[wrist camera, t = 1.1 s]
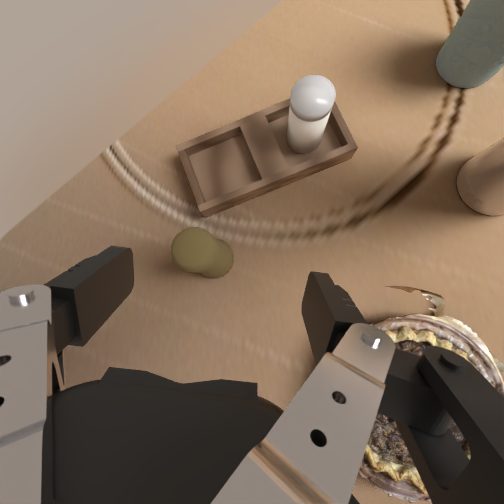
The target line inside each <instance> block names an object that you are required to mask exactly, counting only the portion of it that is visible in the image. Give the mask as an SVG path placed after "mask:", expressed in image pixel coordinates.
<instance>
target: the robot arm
mask: <svg viewBox="0 0 504 504" xmlns="http://www.w3.org/2000/svg"><path fill="white" fill-rule="evenodd" d="M457 188H458V192H459V194H460V197H461V198H462V199H463V201H464V202H465V203H466V204H467V205H468V206H469V207H470V208H472V209H473V210H475V211H477V212H479V213H482V214H485V215H491V216H498V215H504V138H503V139H501V140H499V141H498V142H496V143H495V144H493V145H491V146H490V147H488V148H487V149H485V150H484V151H482V152H481V153H479V154H477V155H476V156H474V157H473V158H471V159H470V160H468V161H467V162H466V163H465V164H464V165H463V166H462V167H461V169H460V171H459V173H458V176H457ZM133 285H134V269H133V253H132V250H131V249H130V248H125V247H117V246H110V247H109V248H107V249H106V250H104V251H103V252H101V253H99V254H98V255H96V256H93V257H90V258H87V259H84V260H83V261H81V262H79V263H78V264H76V265H75V266H73V267H71V268H70V269H68V271H65V272H63V273H62V274H60V275H59V276H57V277H56V278H54V279H52V280H51V281H49V282H48V283H46V284H44V285H38V284H32V285H23V286H17V287H13V288H10V289H7V290H5V291H2V292H0V504H360V503H359V502H358V501H357V500H356V498H355V497H354V496H353V495H352V491H353V487H354V484H355V481H356V478H357V475H358V472H359V468H360V465H361V462H362V459H363V456H364V453H365V449H366V446H367V443H368V440H369V437H370V434H371V431H372V427H373V424H374V421H375V418H376V415H377V413H379V414H381V415H384V416H386V417H389V418H391V419H394V421H395V423H396V425H397V427H398V429H399V432H400V434H401V436H402V438H403V440H404V443H405V445H406V447H407V449H408V451H409V453H410V456H411V458H412V460H413V462H414V464H415V467H416V469H417V471H418V473H419V475H420V477H421V480H422V482H423V484H424V486H425V488H426V491H427V493H428V495H429V497H430V499H431V502H432V504H504V397H503V396H502V395H501V394H500V393H499V392H498V391H497V390H496V389H495V388H494V387H493V386H492V384H491V383H490V382H489V381H488V380H487V379H486V378H485V377H484V376H483V375H482V374H481V373H480V372H479V371H478V370H477V369H476V368H475V367H474V366H473V365H472V364H471V363H470V362H469V361H468V360H466V359H465V358H463V357H462V356H460V355H459V354H457V353H455V352H453V351H451V350H448V349H446V348H443V347H439V346H427V347H426V348H425V349H424V351H423V353H422V355H421V356H418V355H415V354H412V353H409V352H406V351H403V350H400V349H397V348H395V347H396V346H395V343H394V341H393V339H392V338H391V337H390V336H389V335H388V334H387V333H385V332H384V331H382V330H381V329H379V328H377V327H375V326H372V325H369V324H367V322H366V321H365V319H364V318H363V316H362V314H361V313H360V311H359V310H358V308H357V307H356V305H355V304H354V302H353V301H352V299H351V297H350V296H349V294H348V293H347V292H346V291H345V290H344V289H342V288H341V287H340V286H339V285H335V284H334V283H333V281H332V279H331V278H330V276H329V274H328V273H320V272H312V271H311V272H310V274H309V276H308V280H307V284H306V288H305V292H304V297H303V301H302V316H303V320H304V323H305V327H306V330H307V334H308V337H309V341H310V344H311V348H312V352H313V355H314V359H315V362H316V368H315V369H314V370H313V372H312V373H311V375H310V376H309V377H308V379H307V380H306V381H305V383H304V384H303V386H302V387H301V388H300V390H299V391H298V393H297V394H296V395H295V397H294V398H293V400H292V401H291V402H290V404H289V405H288V407H287V408H286V409H285V411H283V410H282V409H281V408H280V407H278V406H277V405H275V404H273V403H272V402H270V401H268V400H266V399H264V398H262V397H259V396H257V383H251V382H242V381H232V380H223V379H220V380H211V381H203V382H194V383H186V384H181V383H177V382H174V381H172V380H169V379H166V378H164V377H161V376H158V375H155V374H153V373H150V372H147V371H141V370H131V369H122V368H113V367H109V368H108V370H107V371H106V373H105V374H104V376H103V377H102V379H101V380H95V381H90V382H86V383H82V384H79V385H75V386H73V387H70V388H66V372H65V357H64V352H63V349H64V348H65V347H66V346H67V345H73V346H82V347H83V346H84V345H85V344H86V343H87V342H88V340H89V339H90V338H91V337H92V336H93V335H94V334H95V333H96V331H97V330H98V329H99V328H100V327H101V326H102V325H103V324H104V322H105V321H106V320H107V319H108V318H109V317H110V316H111V314H112V313H113V312H114V311H115V310H116V309H117V308H118V307H119V305H120V304H121V303H122V302H123V301H124V300H125V299H126V298H127V296H128V295H129V294H130V293H131V291H132V289H133ZM453 421H454V422H455V424H456V425H457V427H458V428H459V430H460V431H461V433H462V434H463V435H464V437H465V439H466V441H467V443H468V445H469V449H470V460H469V458H468V457H467V455H466V453H465V452H464V450H463V449H462V447H461V446H460V444H459V443H458V441H457V439H456V438H455V436H454V435H453V433H452V432H451V430H450V429H449V427H450V426H451V424H452V423H453Z"/></svg>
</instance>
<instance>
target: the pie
mask: <svg viewBox="0 0 504 504" xmlns="http://www.w3.org/2000/svg"><path fill="white" fill-rule="evenodd" d="M385 287H391V288H396V289H402V290H405V291H407V292H409V293H411V292H412V291H414V290H420V289H416V288H410V287H401V286H385ZM420 291H421V292H422V295H423V296H427V295H429V296H431V297H432V300H430V301H431V302H432V303H433V304H434V305H435V306H436V309H433V308H429V309H430V310H431V311H432V312H433V313H435V316H430V315H422V314H410V315H405V316H402V317H390V318H387V319H385V320H383V321H382V322H379V323H376V324H374V325H372V324H370V325H372V326H375V327H377V328H379V329H381V330H382V331H384V332H385V333H387V334H388V335H389V336H390V337H391V338H392V339H393V341H394V343H395V346H396V347H395V348H397V349H400V350H403V351H406V352H409V353H412V354H415V355H418V356H421V355H422V353H423V351H424V349H425V348H426V347H427V346H439V347H443V348H446V349H448V350H451V351H453V352H455V353H457V354H459V355H460V356H462V357H463V358H465V359H466V360H468V361H469V362H470V363H471V364H472V365H473V366H474V367H475V368H476V369H477V370H478V371H479V372H480V373H481V374H482V375H483V376H484V377H485V378H486V379H487V380H488V381H489V382H490V383H491V384H492V386H493V387H494V388H495V389H496V390H497V391H498V392H499V393H500V394H501V395H502V396H503V397H504V383H503V379H502V377H501V375H500V372H499V370H500V371H501V372H502V374H503V375H504V364H503V363H499V361H498V359H496V358H493V357H492V356H491V354H490V351H489V350H488V348H487V347H486V345H485V344H484V343H483V341H482V340H481V339H479V338H478V337H477V333H473V332H472V331H471V328H468V327H467V325H463V323H462V322H460V321H458V320H455V319H453V318H452V317H449V316H445V315H444V314H443V310H444V307H445V300H444V298H443V297H442V296H441V295H438V294H435V293H431V292H428V291H424V290H420ZM427 300H428V298H427ZM497 367H498V368H497ZM498 369H499V370H498ZM449 429H450V430H451V432H452V433H453V435H454V436H455V438H456V439H457V441H458V443H459V444H460V446H461V447H462V449H463V450H464V452H465V453H466V455H467V457H468V458H469V460H470V449H469V445H468V443H467V441H466V439H465V437H464V435H463V434H462V433H461V431H460V430H459V428H458V427H457V425H456V424H455V422H454V421H453V423H452V424H451V426H450V427H449ZM359 473H360V475H361V476H362V477H364V478H369V480H370V484H372V485H373V487H375V488H377V489H378V490H379V489H382V490H383V491H384V493H388V495H389V497H392V496H395V497H397V498H401V499H403V500H408V501H409V502H410V503H413V502H417V501H418V500H421V501H425V500H426V501H428V502H431V499H430V497H429V495H428V493H427V491H426V488H425V486H424V484H423V482H422V480H421V477H420V475H419V473H418V471H417V469H416V467H415V464H414V462H413V460H412V458H411V456H410V453H409V451H408V449H407V447H406V445H405V443H404V440H403V438H402V436H401V434H400V432H399V429H398V427H397V425H396V423H395V421H394V419H391V418H389V417H386V416H384V415H381V414H379V413H377V415H376V418H375V421H374V424H373V427H372V431H371V434H370V437H369V440H368V443H367V446H366V449H365V453H364V456H363V459H362V462H361V465H360V468H359Z"/></svg>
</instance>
